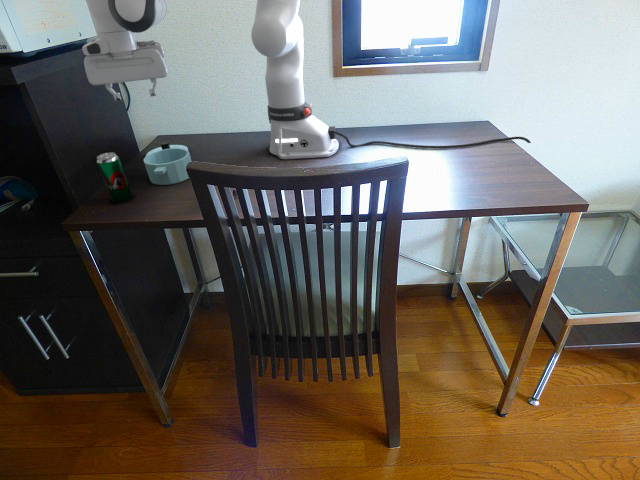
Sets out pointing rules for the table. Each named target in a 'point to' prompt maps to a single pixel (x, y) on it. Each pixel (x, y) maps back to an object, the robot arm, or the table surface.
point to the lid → (166, 147)
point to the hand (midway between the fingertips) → (136, 97)
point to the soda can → (114, 177)
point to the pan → (167, 166)
